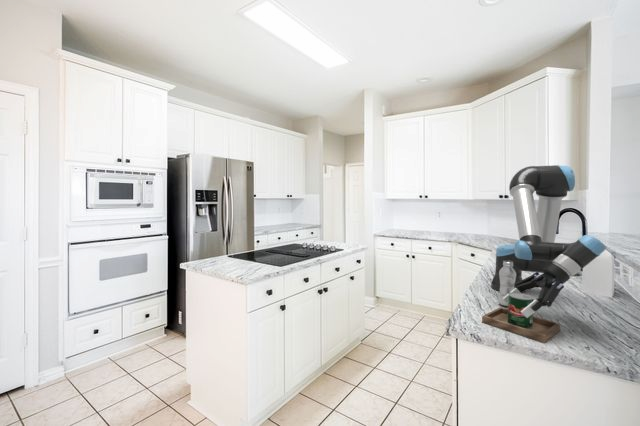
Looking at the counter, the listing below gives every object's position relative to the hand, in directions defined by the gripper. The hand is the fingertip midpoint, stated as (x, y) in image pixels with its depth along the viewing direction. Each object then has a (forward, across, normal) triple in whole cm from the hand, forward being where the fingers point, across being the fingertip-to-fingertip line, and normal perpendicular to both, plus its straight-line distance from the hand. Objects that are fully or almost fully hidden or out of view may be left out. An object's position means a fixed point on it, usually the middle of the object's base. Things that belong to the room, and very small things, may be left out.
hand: (513, 307), depth 110 cm
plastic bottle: (0, +22, -10) cm, 24 cm away
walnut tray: (+3, 0, -7) cm, 7 cm away
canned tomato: (+3, 0, -6) cm, 7 cm away
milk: (-40, +51, -50) cm, 81 cm away
